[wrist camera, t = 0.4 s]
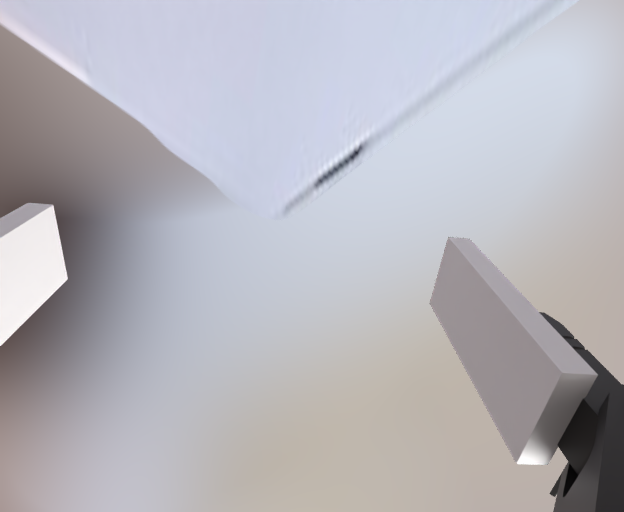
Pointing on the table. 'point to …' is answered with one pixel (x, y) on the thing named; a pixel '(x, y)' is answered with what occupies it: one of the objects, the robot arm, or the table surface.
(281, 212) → the table surface
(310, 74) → the table surface
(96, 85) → the table surface
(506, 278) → the robot arm
